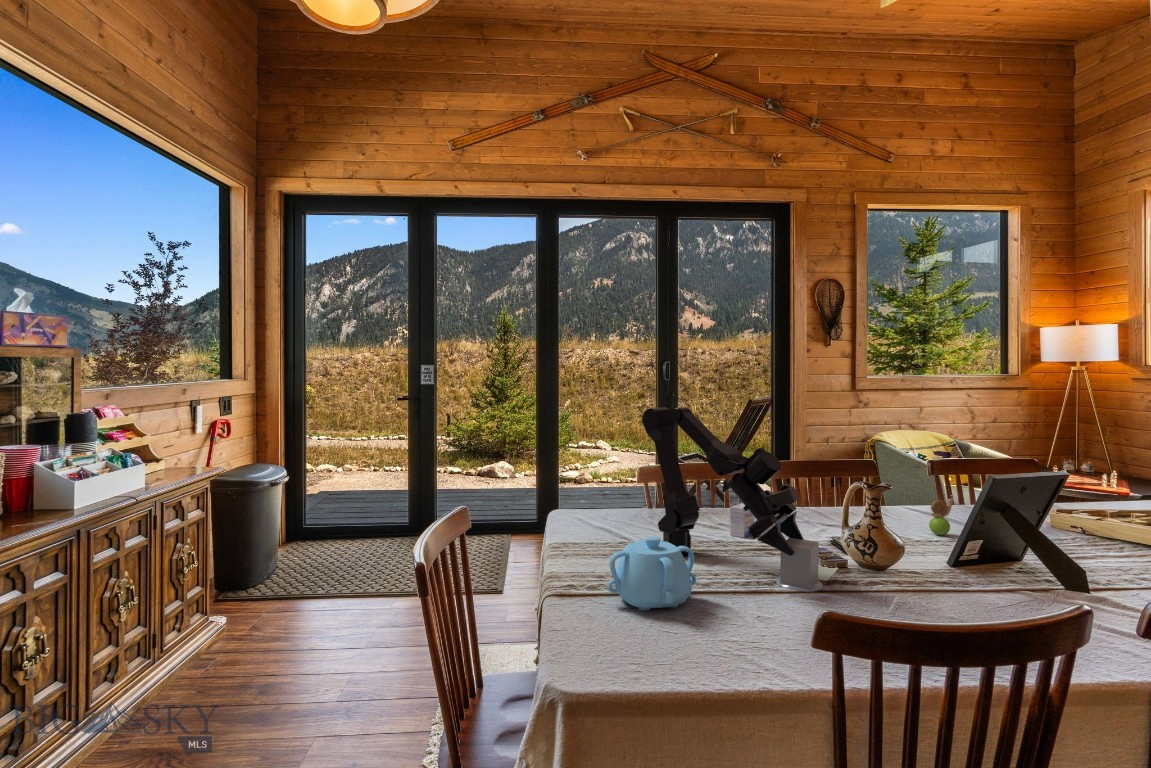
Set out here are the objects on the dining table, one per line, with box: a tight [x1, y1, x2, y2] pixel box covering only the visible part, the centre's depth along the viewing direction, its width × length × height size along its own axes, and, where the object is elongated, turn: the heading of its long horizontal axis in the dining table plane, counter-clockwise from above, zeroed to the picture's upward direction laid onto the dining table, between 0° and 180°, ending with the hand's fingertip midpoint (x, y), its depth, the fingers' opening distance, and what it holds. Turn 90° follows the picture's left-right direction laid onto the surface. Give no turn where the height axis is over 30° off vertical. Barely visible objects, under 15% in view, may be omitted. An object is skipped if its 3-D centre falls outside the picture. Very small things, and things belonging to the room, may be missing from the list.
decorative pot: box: [606, 535, 697, 612], centre depth 135 cm, size 16×16×14 cm
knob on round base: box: [775, 576, 823, 593], centre depth 145 cm, size 10×10×4 cm
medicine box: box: [729, 502, 755, 539], centre depth 188 cm, size 8×4×9 cm, turn 143°
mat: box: [818, 563, 839, 582], centre depth 155 cm, size 11×11×1 cm
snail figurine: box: [928, 494, 955, 536], centre depth 188 cm, size 5×6×12 cm
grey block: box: [779, 537, 820, 590], centre depth 145 cm, size 7×7×9 cm
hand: (798, 549), depth 145 cm, fingers open, 9 cm apart
